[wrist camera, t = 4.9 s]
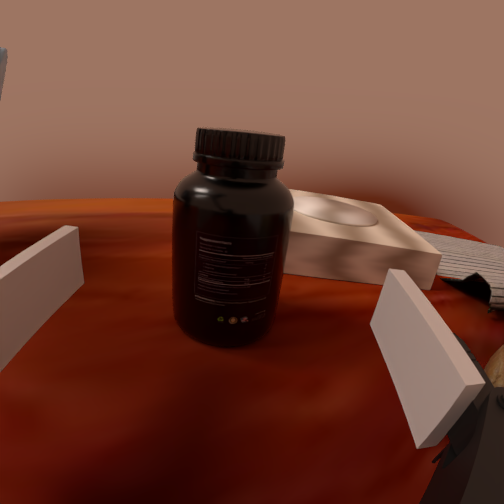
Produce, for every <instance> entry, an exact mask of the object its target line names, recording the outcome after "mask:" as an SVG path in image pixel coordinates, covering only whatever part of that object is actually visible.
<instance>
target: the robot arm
mask: <svg viewBox="0 0 504 504" xmlns="http://www.w3.org/2000/svg"><path fill="white" fill-rule="evenodd" d="M6 64H7V49H6V48H1V47H0V98H1V93H2V88H3V82H4V77H5V71H6ZM83 284H84V277H83V269H82V261H81V252H80V242H79V231H78V227H74V226H66V225H65V226H63V227H62V228H60V229H58V230H56V231H55V232H53V233H51V234H50V235H48V236H46V237H45V238H43V239H41V240H40V241H38V242H37V243H35V244H33V245H32V246H30V247H29V248H27V249H26V250H24V251H22V252H21V253H19V254H18V255H16V256H15V257H13V258H12V259H10V260H9V261H7V262H6V263H4V264H3V265H1V266H0V372H1V371H2V370H3V369H4V367H5V366H6V365H7V364H8V363H9V362H10V360H11V359H12V358H13V357H14V356H15V355H16V354H17V352H18V351H19V350H20V349H21V348H22V347H23V346H24V345H25V343H26V342H27V341H28V340H29V339H30V338H31V337H32V336H33V335H34V334H35V333H36V332H37V330H38V329H39V328H40V327H41V326H42V325H43V324H44V323H45V322H46V321H47V320H48V319H49V318H50V317H51V316H52V315H53V314H54V313H55V312H56V311H57V310H58V309H59V308H60V307H61V306H62V305H63V304H64V303H65V302H66V301H67V300H68V299H69V298H70V297H71V296H72V295H73V294H74V293H75V292H76V291H77V290H78V289H79V288H80V287H81V286H82V285H83ZM370 326H371V328H372V331H373V333H374V335H375V338H376V340H377V342H378V345H379V347H380V350H381V352H382V355H383V357H384V359H385V362H386V364H387V367H388V369H389V372H390V375H391V377H392V380H393V382H394V385H395V388H396V390H397V393H398V396H399V398H400V401H401V404H402V407H403V409H404V412H405V415H406V418H407V421H408V424H409V426H410V429H411V432H412V435H413V438H414V441H415V444H416V448H417V449H420V448H426V447H432V446H437V445H438V443H439V442H440V441H441V440H442V439H443V438H444V437H445V435H446V434H447V435H448V437H449V440H450V442H449V444H448V445H447V446H446V447H445V448H444V449H443V450H442V451H441V452H440V453H439V454H438V455H437V456H436V457H435V458H434V460H433V461H432V463H435V462H436V461H437V460H438V459H440V458H441V459H440V461H439V463H438V466H437V468H436V470H435V472H434V475H433V477H432V479H431V481H430V483H429V485H428V487H427V489H426V491H425V493H424V495H423V497H422V499H421V501H420V503H419V504H504V387H494V386H493V384H492V383H491V381H490V379H489V378H488V376H487V375H486V373H485V372H484V370H483V369H482V367H481V366H480V364H479V363H478V361H476V358H475V357H474V355H473V354H472V353H471V351H470V349H469V348H468V347H467V345H466V344H465V342H464V341H463V340H462V339H460V338H459V337H458V336H457V335H456V334H454V333H452V332H451V330H450V329H449V327H448V326H447V325H446V323H445V322H444V321H443V319H442V318H441V317H440V315H439V314H438V312H437V311H436V310H435V308H434V307H433V306H432V305H431V303H430V302H429V301H428V299H427V298H426V297H425V295H424V294H423V293H422V292H421V290H420V289H419V288H418V287H417V285H416V284H415V283H414V282H413V280H412V279H411V278H410V277H409V275H408V274H407V273H406V272H405V271H404V270H397V269H390V268H389V269H388V273H387V276H386V279H385V282H384V285H383V288H382V291H381V294H380V297H379V300H378V303H377V306H376V309H375V311H374V314H373V317H372V320H371V322H370Z"/></svg>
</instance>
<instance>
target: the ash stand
mask: <svg viewBox="0 0 504 504" xmlns="http://www.w3.org/2000/svg"><path fill="white" fill-rule="evenodd" d="M289 190H290V192H291V194H292V197H293V200H294V210H293V211H294V212H293V218H292V224H291V230H290V236H289V242H288V248H287V254H286V260H285V266H284V271H283V273H287V274H295V275H303V276H311V277H319V278H327V279H336V280H344V281H353V282H361V283H370V284H379V285H384V282H385V279H386V276H387V273H388V269H389V268H390V269H397V270H404V271H405V272H406V273H407V274H408V275H409V277H410V278H411V279H412V280H413V282H414V283H415V284H416V285H417V287H418V288H419V289H424V290H430V289H431V286H432V284H433V281H434V278H435V275H436V273H437V270H438V267H439V264H440V261H441V258H442V254H441V253H440V252H439V251H438V250H437V249H435V248H434V247H433V246H432V245H431V244H429V243H428V242H427V241H426V240H425V239H423V238H422V237H421V236H420V235H419V234H417V233H416V232H415V231H414V230H412V229H411V228H410V227H409V226H407V225H406V224H405V223H404V222H402V221H401V220H400V219H398V218H397V217H396V216H395V215H393V214H392V213H391V212H389V211H388V210H387V209H385V208H384V207H383V206H381V205H379V204H374V203H369V202H364V201H358V200H353V199H347V198H341V197H336V196H330V195H324V194H317V193H311V192H305V191H298V190H291V189H289Z"/></svg>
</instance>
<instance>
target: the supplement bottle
mask: <svg viewBox="0 0 504 504" xmlns="http://www.w3.org/2000/svg"><path fill="white" fill-rule="evenodd" d="M284 146H285V136H281V135H277V134H271V133H265V132H257V131H248V130H238V129H226V128H207V127H205V128H197V132H196V142H195V151H194V152H193V160H194V161H196V162H197V170H196V171H194V172H193V173H191V174H189V175H187V176H186V177H184V178H183V179H182V180H181V181H180V183H179V184H178V186H177V187H176V189H175V192H174V200H173V224H172V299H173V313H174V317H175V320H176V322H177V324H178V325H179V326H180V328H181V329H182V330H183V331H184V332H185V333H187V334H188V335H189V336H191V337H192V338H194V339H196V340H198V341H201V342H203V343H206V344H210V345H215V346H224V347H232V346H240V345H245V344H248V343H251V342H254V341H256V340H258V339H259V338H261V337H262V336H264V335H265V334H266V333H267V332H268V331H269V330H270V328H271V326H272V325H273V322H274V318H275V314H276V309H277V304H278V299H279V294H280V288H281V282H282V277H283V271H284V266H285V260H286V254H287V248H288V242H289V236H290V230H291V224H292V218H293V212H294V211H293V210H294V200H293V197H292V194H291V192H290V190H289V189H288V188H287V187H286V186H285V185H284V184H283V183H282V182H281V181H280V180H279V179H277V170H280V169H283V166H284V160H283V153H284Z"/></svg>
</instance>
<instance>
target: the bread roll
mask: <svg viewBox="0 0 504 504" xmlns="http://www.w3.org/2000/svg"><path fill="white" fill-rule="evenodd" d="M484 372H485V373H486V375H487V376H488V378H489V379H490V381H491V383H492V384H493V386H494V387H504V345H502V346H501V347H500V348H499V349H498V350H497V351H496V352H495V353H494V355H493V356H492V357H491V358H490V360H489V362H488V363H487V365H486V366H485V368H484Z"/></svg>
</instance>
